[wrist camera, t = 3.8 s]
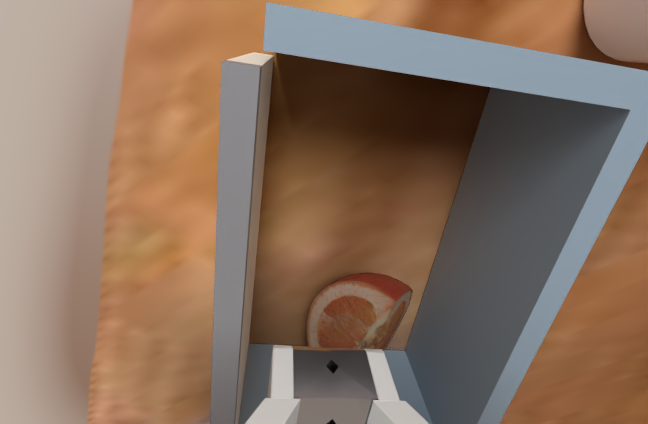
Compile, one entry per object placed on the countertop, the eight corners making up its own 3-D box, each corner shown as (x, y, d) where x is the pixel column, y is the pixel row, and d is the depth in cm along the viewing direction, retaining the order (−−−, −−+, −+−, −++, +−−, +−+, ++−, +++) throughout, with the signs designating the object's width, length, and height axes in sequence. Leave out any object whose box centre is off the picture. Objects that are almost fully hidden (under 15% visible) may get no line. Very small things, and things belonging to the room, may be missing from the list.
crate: (277, 20, 18) (266, 1, 10) (520, 62, 20) (681, 76, 12) (247, 355, 27) (230, 490, 19) (415, 362, 29) (465, 488, 21)
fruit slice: (374, 350, 28) (391, 409, 23) (291, 335, 27) (291, 394, 22) (419, 261, 25) (448, 310, 20) (327, 239, 23) (336, 285, 19)
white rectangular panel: (253, 52, 18) (221, 61, 10) (273, 55, 18) (260, 67, 10) (235, 340, 26) (208, 489, 17) (249, 341, 26) (229, 489, 17)
